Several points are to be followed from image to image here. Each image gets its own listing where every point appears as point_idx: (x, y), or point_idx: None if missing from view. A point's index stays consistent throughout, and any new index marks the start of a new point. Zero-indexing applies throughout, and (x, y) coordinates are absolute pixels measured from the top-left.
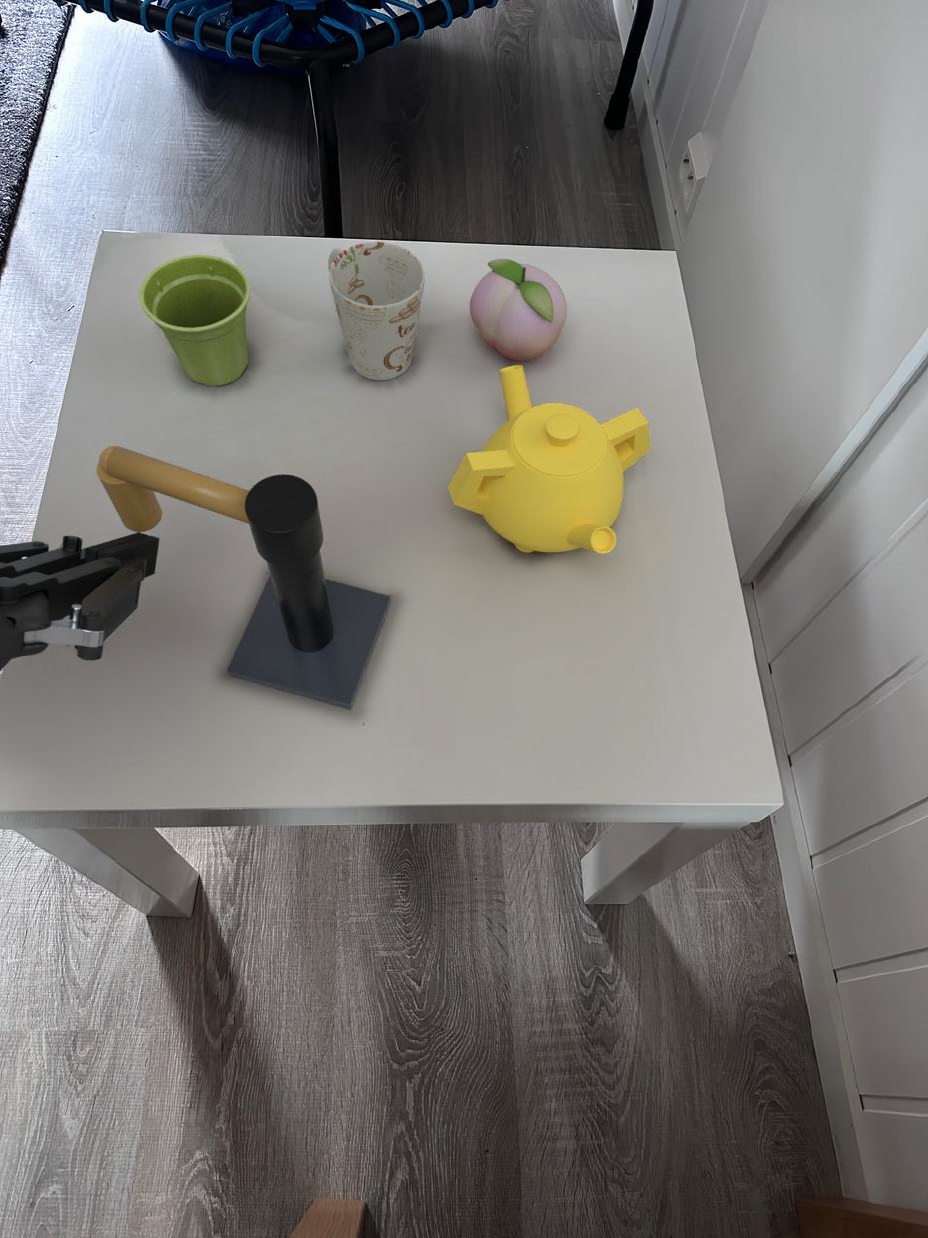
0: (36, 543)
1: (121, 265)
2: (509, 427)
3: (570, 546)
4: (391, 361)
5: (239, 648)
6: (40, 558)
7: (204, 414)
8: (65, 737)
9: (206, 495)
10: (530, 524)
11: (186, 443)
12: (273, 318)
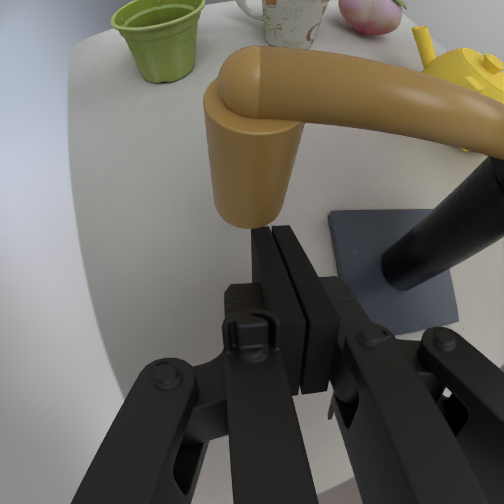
0: (165, 382)
1: (79, 50)
2: (460, 61)
3: None
4: (311, 34)
5: None
6: (267, 478)
7: (176, 101)
8: (222, 466)
9: (495, 123)
10: None
11: (172, 126)
12: (196, 36)
